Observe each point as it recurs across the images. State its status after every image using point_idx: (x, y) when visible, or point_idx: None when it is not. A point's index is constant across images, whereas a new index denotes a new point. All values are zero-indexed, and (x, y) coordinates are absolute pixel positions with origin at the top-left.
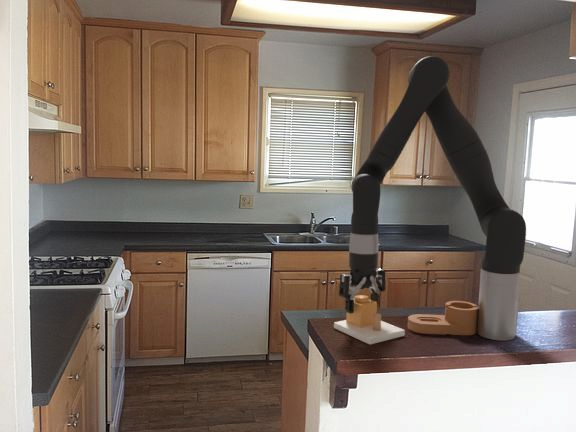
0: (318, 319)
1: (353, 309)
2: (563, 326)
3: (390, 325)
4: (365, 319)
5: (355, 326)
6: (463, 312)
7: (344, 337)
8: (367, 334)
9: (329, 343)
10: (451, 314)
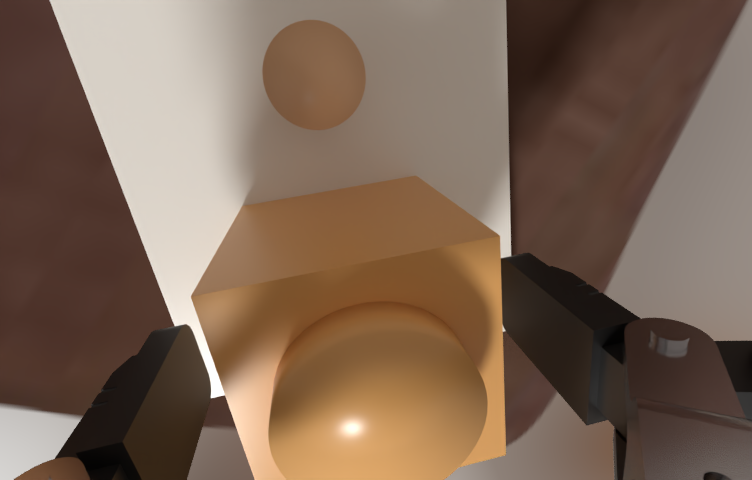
0: None
1: (520, 270)
2: None
3: (125, 127)
4: (374, 198)
5: None
6: None
7: (541, 140)
8: (457, 6)
9: (685, 81)
10: None
